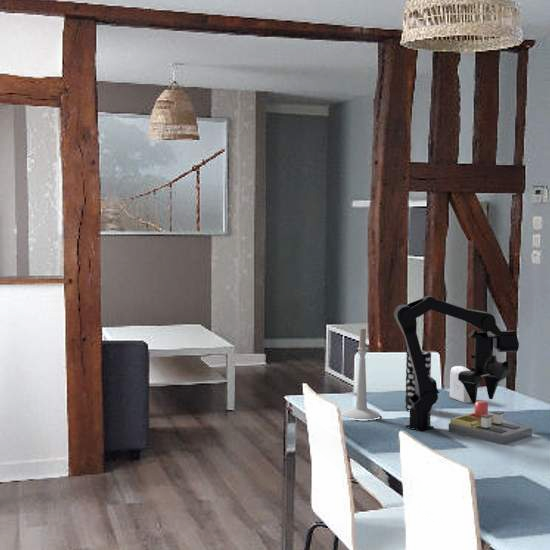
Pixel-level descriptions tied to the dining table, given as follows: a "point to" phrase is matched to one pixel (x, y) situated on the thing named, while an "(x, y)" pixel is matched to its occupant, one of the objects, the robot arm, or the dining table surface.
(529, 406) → the dining table surface
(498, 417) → the block
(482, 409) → the red rounded cylinder
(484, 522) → the dining table surface
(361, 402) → the candlestick
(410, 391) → the white-spotted black cylinder
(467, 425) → the panel
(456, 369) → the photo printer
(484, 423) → the block
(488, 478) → the dining table surface
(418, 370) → the robot arm
